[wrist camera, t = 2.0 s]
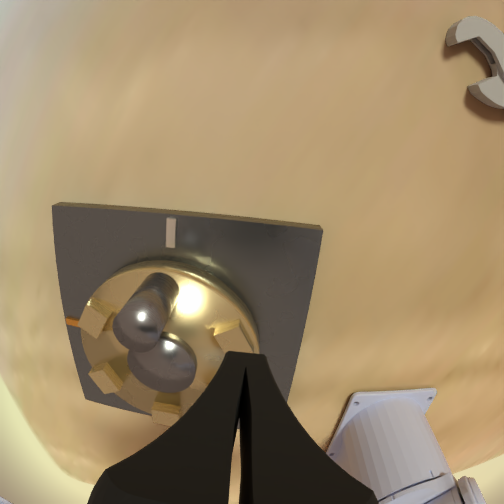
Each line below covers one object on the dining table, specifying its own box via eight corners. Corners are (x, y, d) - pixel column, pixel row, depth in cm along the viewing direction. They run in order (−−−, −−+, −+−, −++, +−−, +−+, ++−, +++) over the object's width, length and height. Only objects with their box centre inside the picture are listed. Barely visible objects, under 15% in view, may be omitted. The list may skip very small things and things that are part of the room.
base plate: (278, 422, 23) (279, 433, 22) (89, 391, 22) (84, 400, 21) (319, 225, 17) (323, 231, 16) (60, 202, 17) (50, 205, 16)
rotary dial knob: (250, 412, 21) (247, 476, 15) (105, 387, 20) (76, 441, 15) (270, 271, 17) (275, 329, 12) (83, 249, 17) (27, 290, 12)
